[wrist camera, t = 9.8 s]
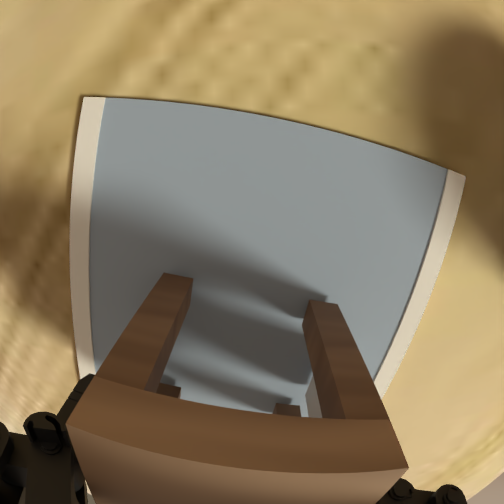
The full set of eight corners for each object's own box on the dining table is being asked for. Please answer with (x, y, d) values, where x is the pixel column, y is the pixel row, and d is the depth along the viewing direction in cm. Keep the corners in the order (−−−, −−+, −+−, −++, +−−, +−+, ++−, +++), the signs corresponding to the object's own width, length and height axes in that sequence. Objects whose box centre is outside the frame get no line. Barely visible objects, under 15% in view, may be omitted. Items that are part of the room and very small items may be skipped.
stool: (163, 272, 12) (65, 423, 5) (337, 303, 13) (409, 468, 5) (156, 398, 14) (111, 534, 7) (293, 420, 15) (307, 560, 7)
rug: (89, 98, 11) (83, 97, 10) (460, 175, 12) (466, 176, 11) (96, 436, 17) (93, 441, 16) (328, 474, 18) (329, 479, 17)
